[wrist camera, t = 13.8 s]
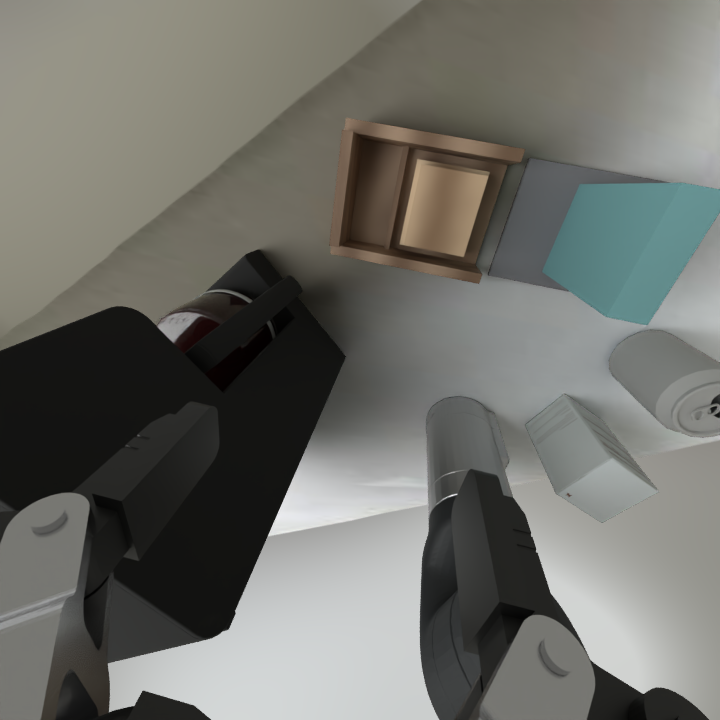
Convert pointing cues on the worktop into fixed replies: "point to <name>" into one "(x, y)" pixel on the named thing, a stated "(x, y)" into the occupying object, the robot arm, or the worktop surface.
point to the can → (670, 381)
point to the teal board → (630, 244)
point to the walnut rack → (405, 194)
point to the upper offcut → (444, 209)
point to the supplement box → (587, 461)
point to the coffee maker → (169, 395)
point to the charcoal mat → (543, 217)
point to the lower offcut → (414, 185)
